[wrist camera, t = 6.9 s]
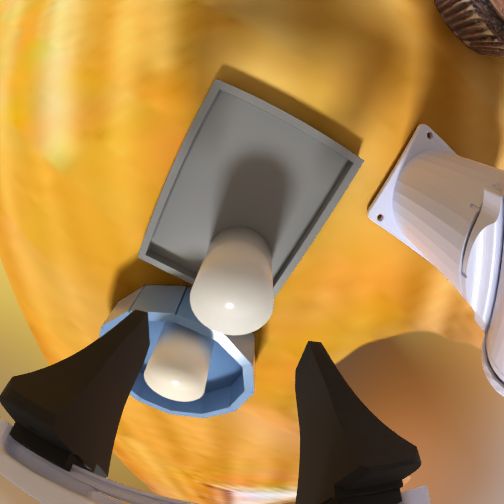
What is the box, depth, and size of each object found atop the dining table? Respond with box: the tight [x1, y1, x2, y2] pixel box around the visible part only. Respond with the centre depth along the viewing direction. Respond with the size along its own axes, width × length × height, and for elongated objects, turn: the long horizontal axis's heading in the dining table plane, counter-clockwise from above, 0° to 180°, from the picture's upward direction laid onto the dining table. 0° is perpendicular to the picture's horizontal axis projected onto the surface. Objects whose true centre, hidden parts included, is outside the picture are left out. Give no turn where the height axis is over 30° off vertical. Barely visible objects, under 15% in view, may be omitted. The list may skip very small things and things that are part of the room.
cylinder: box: [190, 227, 274, 335], centre depth 17 cm, size 4×4×6 cm
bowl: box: [99, 285, 256, 418], centre depth 23 cm, size 14×14×4 cm
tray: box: [138, 79, 364, 299], centre depth 18 cm, size 10×13×1 cm
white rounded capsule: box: [144, 322, 215, 402], centre depth 20 cm, size 4×4×6 cm
